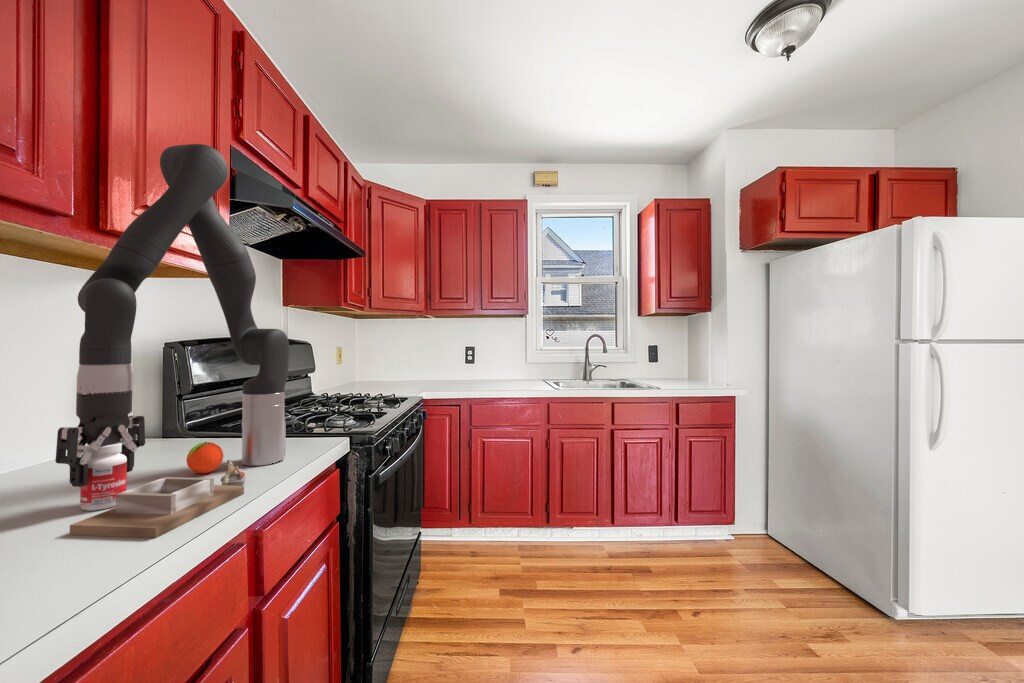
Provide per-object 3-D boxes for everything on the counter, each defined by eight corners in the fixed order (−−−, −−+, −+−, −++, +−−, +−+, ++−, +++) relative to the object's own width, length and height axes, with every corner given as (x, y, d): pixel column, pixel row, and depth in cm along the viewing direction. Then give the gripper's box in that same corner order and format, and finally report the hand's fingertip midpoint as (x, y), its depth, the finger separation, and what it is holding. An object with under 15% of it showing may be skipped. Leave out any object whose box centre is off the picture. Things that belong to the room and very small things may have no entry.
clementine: (203, 479, 96) (203, 446, 96) (174, 478, 96) (174, 445, 97) (230, 469, 104) (230, 439, 104) (203, 468, 104) (203, 438, 104)
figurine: (232, 480, 95) (231, 453, 94) (252, 481, 94) (251, 455, 93) (214, 492, 89) (212, 464, 89) (235, 493, 89) (233, 465, 88)
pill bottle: (87, 514, 76) (88, 450, 76) (74, 507, 79) (75, 445, 79) (132, 503, 82) (133, 443, 82) (118, 497, 85) (119, 439, 85)
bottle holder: (176, 491, 88) (176, 468, 88) (244, 493, 87) (244, 470, 87) (69, 534, 68) (70, 505, 68) (155, 537, 67) (156, 508, 67)
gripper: (122, 385, 88) (121, 467, 88) (42, 393, 74) (40, 490, 73) (158, 386, 87) (157, 468, 87) (84, 393, 73) (82, 492, 73)
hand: (103, 478), depth 80 cm, fingers open, 8 cm apart
